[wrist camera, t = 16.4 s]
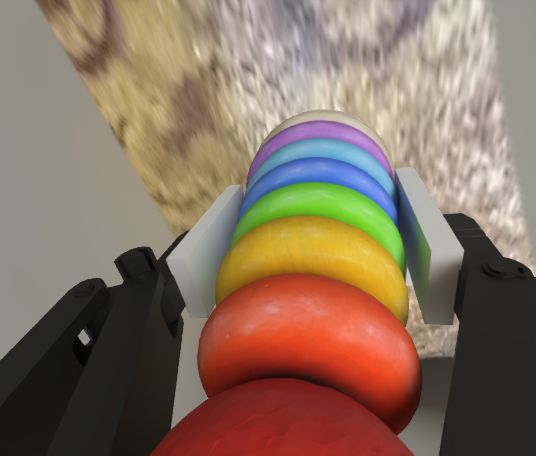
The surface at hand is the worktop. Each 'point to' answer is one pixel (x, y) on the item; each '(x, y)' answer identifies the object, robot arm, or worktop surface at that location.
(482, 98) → the worktop surface
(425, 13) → the worktop surface
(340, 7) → the worktop surface
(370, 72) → the worktop surface
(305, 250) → the stacking toy
